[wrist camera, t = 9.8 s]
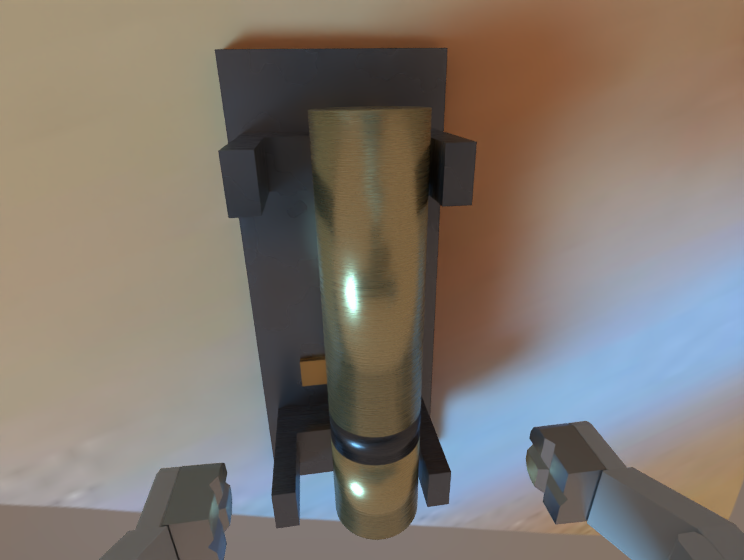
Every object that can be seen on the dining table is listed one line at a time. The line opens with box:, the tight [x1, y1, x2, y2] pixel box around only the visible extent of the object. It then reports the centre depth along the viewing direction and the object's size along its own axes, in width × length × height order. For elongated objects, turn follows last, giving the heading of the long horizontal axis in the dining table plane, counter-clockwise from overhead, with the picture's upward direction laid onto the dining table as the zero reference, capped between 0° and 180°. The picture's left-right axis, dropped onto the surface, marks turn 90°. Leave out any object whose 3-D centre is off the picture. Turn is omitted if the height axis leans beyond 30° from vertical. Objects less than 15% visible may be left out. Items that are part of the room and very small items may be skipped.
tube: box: [308, 106, 432, 540], centre depth 18 cm, size 18×4×4 cm, turn 1°
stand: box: [215, 48, 477, 528], centre depth 19 cm, size 22×9×6 cm, turn 1°
